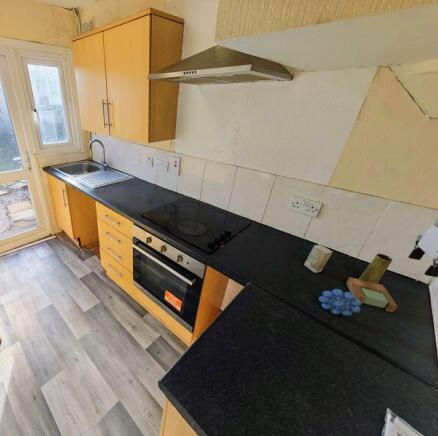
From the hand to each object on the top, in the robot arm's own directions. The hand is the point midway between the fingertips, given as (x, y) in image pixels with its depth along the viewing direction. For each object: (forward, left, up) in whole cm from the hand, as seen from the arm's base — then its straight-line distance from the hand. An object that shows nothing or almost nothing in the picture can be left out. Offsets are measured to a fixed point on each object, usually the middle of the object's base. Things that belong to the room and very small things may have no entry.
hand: (421, 266), depth 81 cm
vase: (+3, -13, -21) cm, 25 cm away
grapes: (+22, +13, -21) cm, 33 cm away
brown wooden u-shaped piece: (+6, -2, -21) cm, 22 cm away
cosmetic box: (+24, -13, -21) cm, 35 cm away
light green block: (+6, 0, -21) cm, 22 cm away
